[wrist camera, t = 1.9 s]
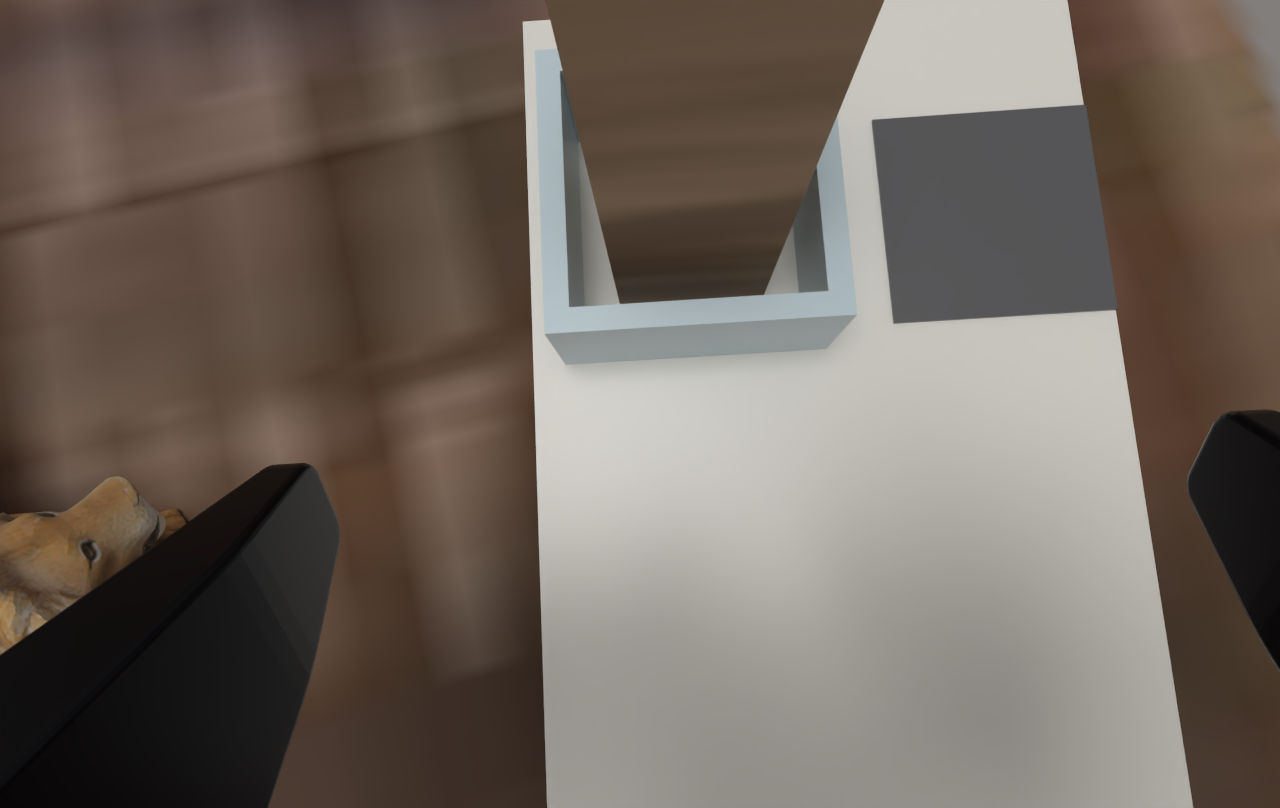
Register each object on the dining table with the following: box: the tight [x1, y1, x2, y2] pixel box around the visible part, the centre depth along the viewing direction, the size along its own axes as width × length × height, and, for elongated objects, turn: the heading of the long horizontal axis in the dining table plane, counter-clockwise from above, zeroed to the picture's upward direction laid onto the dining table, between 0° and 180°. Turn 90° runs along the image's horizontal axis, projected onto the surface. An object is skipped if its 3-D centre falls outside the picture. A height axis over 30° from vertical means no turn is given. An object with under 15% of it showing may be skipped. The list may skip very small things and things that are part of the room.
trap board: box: [523, 0, 1193, 808], centre depth 21 cm, size 24×16×1 cm, turn 3°
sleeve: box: [535, 49, 857, 365], centre depth 19 cm, size 7×7×4 cm
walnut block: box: [545, 0, 884, 304], centre depth 15 cm, size 4×4×13 cm
